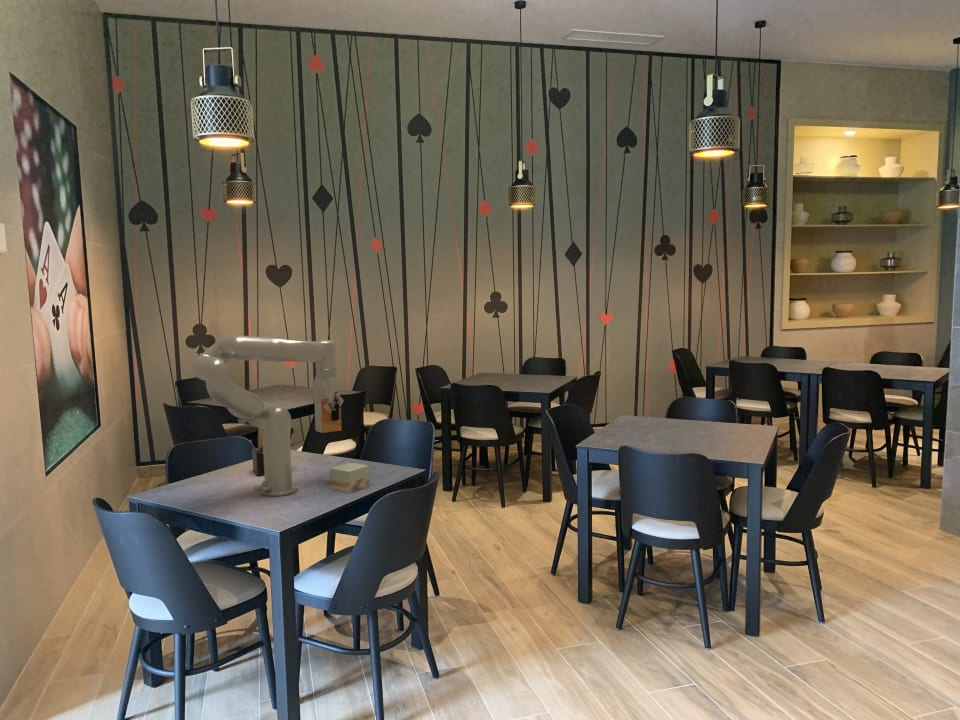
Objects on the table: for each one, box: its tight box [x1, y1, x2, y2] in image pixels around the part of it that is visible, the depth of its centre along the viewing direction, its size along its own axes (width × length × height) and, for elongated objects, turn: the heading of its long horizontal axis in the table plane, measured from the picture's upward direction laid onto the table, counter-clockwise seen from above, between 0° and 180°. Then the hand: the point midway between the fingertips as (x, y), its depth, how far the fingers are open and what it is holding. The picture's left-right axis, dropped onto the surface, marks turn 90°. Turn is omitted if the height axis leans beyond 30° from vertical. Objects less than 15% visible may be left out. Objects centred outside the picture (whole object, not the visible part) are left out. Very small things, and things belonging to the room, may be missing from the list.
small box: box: [314, 397, 342, 434], centre depth 278 cm, size 8×6×13 cm
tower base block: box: [329, 476, 370, 494], centre depth 270 cm, size 10×10×4 cm
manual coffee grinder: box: [251, 427, 295, 477], centre depth 296 cm, size 16×11×18 cm
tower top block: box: [329, 461, 370, 483], centre depth 270 cm, size 10×10×4 cm
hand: (328, 419), depth 278 cm, fingers closed on small box, 7 cm apart
